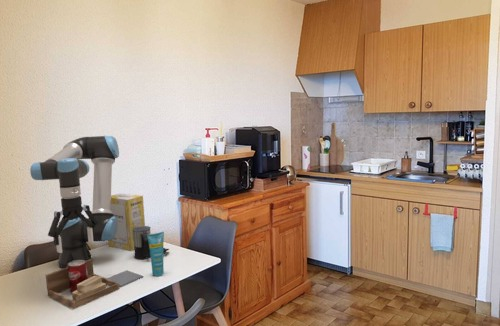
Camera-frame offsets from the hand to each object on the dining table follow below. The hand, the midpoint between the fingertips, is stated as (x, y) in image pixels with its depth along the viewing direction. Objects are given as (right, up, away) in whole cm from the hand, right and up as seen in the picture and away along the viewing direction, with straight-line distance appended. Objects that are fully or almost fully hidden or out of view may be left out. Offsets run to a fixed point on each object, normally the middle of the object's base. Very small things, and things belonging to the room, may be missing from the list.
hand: (75, 247), depth 162 cm
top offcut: (+7, -16, -3) cm, 18 cm away
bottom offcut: (+7, -19, -2) cm, 21 cm away
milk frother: (+21, -13, +40) cm, 47 cm away
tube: (+30, -16, +16) cm, 38 cm away
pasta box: (+4, -12, +57) cm, 58 cm away
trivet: (+16, -17, +12) cm, 26 cm away
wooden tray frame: (+3, -19, 0) cm, 19 cm away
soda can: (0, -19, +2) cm, 19 cm away
